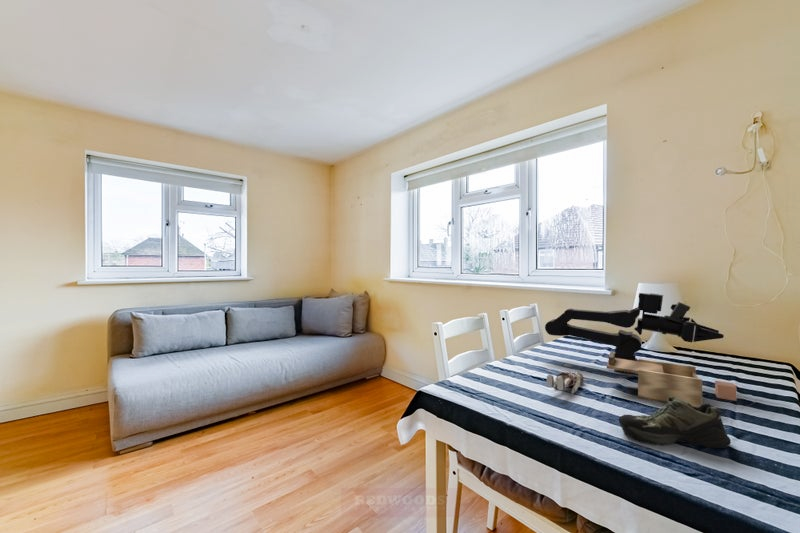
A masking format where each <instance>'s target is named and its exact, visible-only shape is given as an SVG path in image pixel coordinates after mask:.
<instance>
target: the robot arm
mask: <svg viewBox="0 0 800 533" xmlns="http://www.w3.org/2000/svg"><path fill="white" fill-rule="evenodd" d="M663 298H664V295H663V294H658V293H653V292H650V293H644V292H640V293H638V304H637V305H638V306H636V307H635V308H633V309H631V310H628V309H622V310H619V309H618V310H612V311H611V310H610V311H603V310H602V311H599V310H588V309H586V310H585V309H574V308H568V309H566V310H565V311H564V312H563V313H562V314H560V315H559V316H558V317H557V318H553V319H551V320H549V321H548V322H546V324H545V325H544V329H545V332H546V334H548V335H549V336H556V337H558V336H559V337H561V336H562V337H563V336H564V337H566V336H567V337H568V336H569V337H575V338H578V339H580V338H581V339H584V340H589V341H590V340H591V341H594V342H598V343H603V344H608V345H610V346H611V345H612V346H613V347H615V349H614V352H615V358H619V359H626V360H633V361H638V358H636V353H637V352H639V351H640V350H641V348H642V345H643V344H642V339H641V337H640V336H641V335H642V334H643V331H649V332H654V333H655V332H656V333H660V334H662V335H671V336H677V337H679V338H681V339H682V341H684V342H686V343H697V342H704V341H711V340H718V339H723V338H724V334H723V333H721V332H720V331H719V330H718V329H714V328H712V327H708V326H706V325H704V324H703V325H702V324H699V323H698V322H696V321H695V320H694V318H690V317H689V316H685V315H686V313H687V312H689V311H690V309H691V306H690V305H688V304H685V303H682V302H680V301H678V302H677V303H675V304H674V303H673V304H671V306H670V309H671V310H672V311H671V313H670V315H664V316H661V315H657V314H658V312H661V311H662V306H663ZM641 311H642V314H641ZM640 314H641V318H638V317H639V316H640ZM571 320H577V321H578V320H580V321H588V322H597V323H598V322H599V323H607V324H611V325H613V326H616V327H621V328H624V329H625V328H626V329H627V328H631V327H634V325H635V324H637V326H635V327H634V328H633V329H634V330H635V332H637V333H638V334H639V335H640V336H639V335H638V334H635V333H634V332H633V331H626V330H622V329H619V330H618V332H617V333H615V332H614V333H613V332H607V331H602V330H599V329H592V328H587V327H581V326H578V325H577V326H575V325H573V324H570V323H569V322H570V321H571ZM636 321H637V322H636ZM614 372H620V373H627V374H633V375H636V374H637V373H631V372H625V371H619V370H614Z"/></svg>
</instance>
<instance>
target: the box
mask: <svg viewBox="0 0 800 533" xmlns="http://www.w3.org/2000/svg"><path fill="white" fill-rule="evenodd" d="M637 361H640V362H647V363H654V364H660V365H662V367H663V372H664V373H659V372H653V371H647V370H640V369H638V374H637V376H638V377H637V378H638V381H637V382H638V383H637V398H638V399H643V400H649V401H654V402H658V403H664V404H666V402H667V400H668V397H674V398H675V399H676V398H678V399H680V400H682V401H685V402H688V403H690V404H691V405H692V406H694V407H700V406H701V405H703V379H702V378H699V377H698V375H697V373H696V371H697V370H696V369H697V368H696V366H693V365H687V364H678V363H672V362H664V361H658V360H650V359H643V358H642V359H641V358H637Z"/></svg>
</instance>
